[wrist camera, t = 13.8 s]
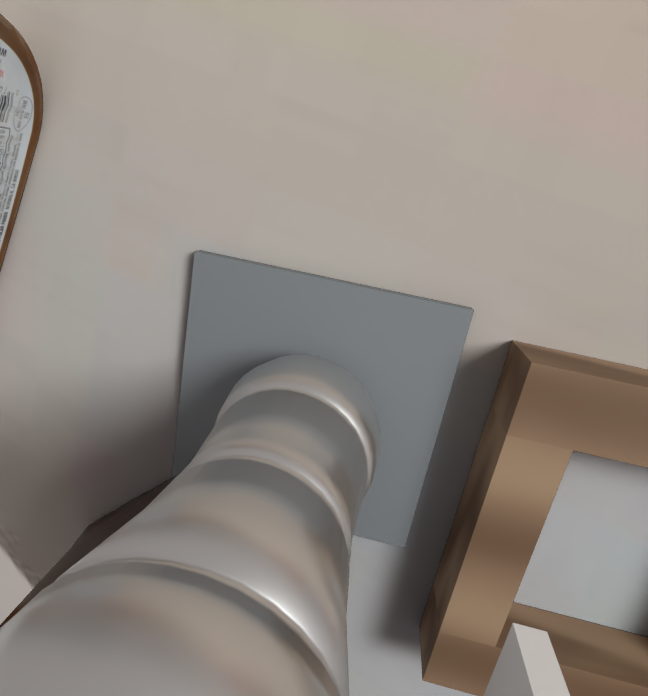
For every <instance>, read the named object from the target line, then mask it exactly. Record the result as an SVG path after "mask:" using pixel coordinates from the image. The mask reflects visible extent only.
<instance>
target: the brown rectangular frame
mask: <svg viewBox="0 0 648 696" xmlns="http://www.w3.org/2000/svg"><path fill="white" fill-rule="evenodd" d="M573 450H574V451H578V452H582V453H587V454H591V455H595V456H600V457H604V458H608V459H612V460H617V461H621V462H625V463H630V464H634V465H638V466H643V467H647V468H648V370H647V369H642V368H638V367H633V366H628V365H624V364H619V363H614V362H610V361H605V360H600V359H596V358H591V357H587V356H582V355H577V354H573V353H568V352H563V351H559V350H554V349H550V348H545V347H540V346H536V345H531V344H526V343H522V342H517V341H512V343H511V346H510V349H509V352H508V355H507V358H506V361H505V364H504V367H503V370H502V374H501V377H500V380H499V383H498V386H497V389H496V392H495V395H494V398H493V401H492V404H491V407H490V410H489V414H488V417H487V420H486V423H485V426H484V429H483V432H482V435H481V438H480V441H479V444H478V447H477V451H476V454H475V457H474V460H473V463H472V466H471V469H470V472H469V475H468V478H467V481H466V484H465V488H464V491H463V494H462V497H461V500H460V503H459V506H458V509H457V512H456V515H455V518H454V521H453V524H452V528H451V531H450V534H449V537H448V540H447V543H446V546H445V549H444V552H443V555H442V558H441V561H440V565H439V568H438V571H437V574H436V577H435V580H434V583H433V586H432V589H431V592H430V595H429V598H428V602H427V605H426V608H425V611H424V614H423V617H422V620H421V623H420V626H419V628H420V645H421V662H422V679H423V681H426V682H430V683H434V684H437V685H441V686H444V687H448V688H452V689H455V690H459V691H462V692H466V693H470V694H473V695H477V696H484V694H485V691H486V689H487V686H488V684H489V681H490V679H491V676H492V674H493V671H494V669H495V666H496V664H497V661H498V659H499V656H500V654H501V651H502V648H503V646H504V643H505V641H506V638H507V636H508V633H509V631H510V628H511V626H512V623H516V624H520V625H524V626H527V627H531V628H535V629H539V630H543V631H546V632H547V633H548V636H549V638H550V641H551V644H552V647H553V649H554V652H555V655H556V658H557V661H558V663H559V666H560V669H561V672H562V674H563V677H564V680H565V683H566V685H567V688H568V691H569V694H570V696H648V637H645V636H641V635H637V634H633V633H629V632H626V631H622V630H618V629H614V628H610V627H606V626H603V625H599V624H595V623H591V622H587V621H583V620H579V619H576V618H572V617H568V616H564V615H560V614H556V613H553V612H549V611H545V610H541V609H537V608H533V607H530V606H526V605H522V604H518V603H514V602H513V601H514V599H515V596H516V593H517V591H518V588H519V586H520V583H521V581H522V578H523V576H524V573H525V571H526V568H527V566H528V563H529V561H530V558H531V556H532V553H533V551H534V548H535V545H536V543H537V540H538V538H539V535H540V533H541V530H542V528H543V525H544V523H545V520H546V518H547V515H548V513H549V510H550V508H551V505H552V502H553V500H554V497H555V495H556V492H557V490H558V487H559V485H560V482H561V480H562V477H563V475H564V472H565V470H566V467H567V465H568V462H569V460H570V457H571V454H572V452H573Z"/></svg>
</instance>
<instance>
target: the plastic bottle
mask: <svg viewBox="0 0 648 696" xmlns="http://www.w3.org/2000/svg"><path fill="white" fill-rule="evenodd" d="M381 450H382V434H381V429H380V425H379V421H378V417H377V414H376V411H375V407H374V405H373V403H372V401H371V398H370V396H369V394H368V393H367V391H366V390H365V389H364V387H363V386H362V384H361V383H360V382H359V381H358V380H357V379H356V378H355V377H354V376H353V375H352V374H351V373H350V372H349V371H347V370H346V369H344V368H342V367H341V366H339V365H338V364H336V363H334V362H332V361H329V360H327V359H324V358H321V357H317V356H312V355H299V354H294V355H288V356H282V357H279V358H276V359H274V360H271V361H269V362H266V363H264V364H262V365H259V366H257V367H255V368H254V369H252V370H251V371H249V372H248V373H246V374H245V375H244V376H243V377H242V378H241V379H240V380H239V381H238V382H237V383H236V384H235V385H234V387H233V389H232V390H231V392H230V394H229V395H228V397H227V399H226V401H225V403H224V404H223V406H222V408H221V410H220V412H219V414H218V417H217V420H216V422H215V426H214V428H213V429H212V431H211V432H210V434H209V435H208V437H207V438H206V440H205V441H204V443H203V445H202V446H201V448H200V449H199V451H198V452H197V454H196V455H195V457H194V458H193V460H192V461H191V463H190V464H189V465H188V466H187V467H186V468H185V469H184V470H183V471H182V472H181V473H180V474H179V475H178V476H177V477H176V478H175V479H174V480H173V481H172V482H171V483H170V484H169V485H168V486H167V487H166V488H165V489H164V490H163V491H162V492H161V493H160V494H159V495H158V496H157V497H156V498H155V499H154V500H153V501H152V502H151V503H150V504H149V505H148V506H147V507H146V508H145V509H144V510H143V511H141V512H140V513H139V514H137V515H136V516H135V517H134V518H132V519H131V520H130V521H129V522H127V523H126V524H125V525H124V526H122V527H121V528H120V529H119V530H117V531H116V532H115V533H114V534H112V535H111V536H110V537H108V538H107V539H106V540H105V541H103V542H102V543H101V544H100V545H98V546H97V547H96V548H95V549H93V550H92V551H91V552H90V553H88V554H87V555H86V556H85V557H83V558H82V559H81V560H80V561H78V562H77V563H76V564H74V565H73V566H72V567H71V568H69V569H68V570H67V571H66V572H64V573H63V574H62V575H61V576H59V577H58V578H57V579H56V580H55V582H54V583H52V584H50V585H49V586H47V587H45V588H44V589H42V590H41V591H40V592H39V593H38V594H37V595H36V596H35V597H34V598H33V599H32V600H31V601H30V602H29V603H28V604H26V605H25V606H24V607H23V608H22V609H21V610H20V611H19V612H18V613H17V614H16V615H14V616H13V617H12V618H11V619H10V620H9V621H8V622H7V623H5V624H4V625H3V626H2V627H1V628H0V696H349V679H348V652H347V625H346V612H347V598H348V585H349V571H350V570H349V562H350V556H351V542H352V537H353V533H354V530H355V526H356V523H357V519H358V515H359V512H360V508H361V505H362V501H363V499H364V497H365V495H366V494H367V492H368V490H369V487H370V485H371V483H372V481H373V478H374V476H375V473H376V470H377V467H378V464H379V461H380V455H381Z"/></svg>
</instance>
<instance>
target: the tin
mask: <svg viewBox="0 0 648 696" xmlns="http://www.w3.org/2000/svg"><path fill="white" fill-rule="evenodd" d="M42 115H43V92H42V83H41V78H40V74H39V71H38V67H37V64H36V62H35V59H34V57H33V54H32V52H31V50H30V49H29V47H28V45H27V43H26V42H25V40H24V38H23V37H22V36H21V34H20V33H19V32H18V31H17V29H16V28H15V27H14V26H13V25H12V24H11V23H10V22H9V21H8V20H6V19H5V18H4V17H3V16H2V15H1V14H0V270H1V267H2V264H3V260H4V257H5V253H6V250H7V247H8V243H9V239H10V236H11V232H12V229H13V226H14V223H15V219H16V216H17V212H18V209H19V205H20V202H21V198H22V195H23V191H24V188H25V184H26V181H27V177H28V174H29V170H30V167H31V163H32V160H33V156H34V153H35V149H36V146H37V142H38V139H39V134H40V129H41V124H42Z"/></svg>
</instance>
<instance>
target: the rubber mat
mask: <svg viewBox="0 0 648 696" xmlns="http://www.w3.org/2000/svg"><path fill="white" fill-rule="evenodd" d="M473 312H474V310H473V309H472V308H470V307H466V306H461V305H456V304H451V303H447V302H442V301H437V300H433V299H428V298H423V297H418V296H414V295H409V294H404V293H400V292H395V291H390V290H385V289H381V288H376V287H371V286H366V285H362V284H357V283H352V282H348V281H343V280H338V279H333V278H329V277H324V276H319V275H315V274H310V273H305V272H300V271H296V270H291V269H286V268H281V267H277V266H272V265H267V264H263V263H258V262H253V261H248V260H244V259H239V258H234V257H230V256H225V255H220V254H215V253H211V252H206V251H201V250H199V251H195V252H194V262H193V272H192V282H191V291H190V301H189V311H188V321H187V331H186V341H185V350H184V360H183V370H182V380H181V390H180V399H179V409H178V419H177V429H176V439H175V448H174V458H173V468H172V478H173V477H175V476H176V475H178V474H180V473H181V472H182V471H183V470H184V469H185V468H186V467H187V466H188V465H189V464H190V463H191V461H192V460H193V458H194V457H195V455H196V454H197V452H198V451H199V449H200V448H201V446H202V445H203V443H204V441H205V440H206V438H207V437H208V435H209V434H210V432H211V431H212V429H213V428H214V426H215V422H216V420H217V417H218V414H219V412H220V410H221V408H222V406H223V404H224V403H225V401H226V399H227V397H228V395H229V394H230V392H231V390H232V389H233V387H234V385H235V384H236V383H237V382H238V381H239V380H240V379H241V378H242V377H243V376H244V375H245V374H246V373H248V372H249V371H251V370H252V369H254V368H255V367H257V366H259V365H262V364H264V363H266V362H269V361H271V360H274V359H276V358H279V357H282V356H288V355H294V354H299V355H312V356H317V357H321V358H324V359H327V360H329V361H332V362H334V363H336V364H338V365H339V366H341V367H342V368H344V369H346V370H347V371H349V372H350V373H351V374H352V375H353V376H354V377H355V378H356V379H357V380H358V381H359V382H360V383H361V384H362V386H363V387H364V389H365V390H366V391H367V393H368V394H369V396H370V398H371V401H372V403H373V405H374V407H375V411H376V414H377V417H378V421H379V425H380V429H381V434H382V450H381V455H380V461H379V464H378V467H377V470H376V473H375V476H374V478H373V481H372V483H371V485H370V487H369V490H368V492H367V494H366V495H365V497H364V499H363V501H362V505H361V508H360V512H359V515H358V519H357V523H356V526H355V530H354V533H353V535H356V536H360V537H364V538H368V539H372V540H376V541H380V542H384V543H387V544H391V545H395V546H399V547H403V548H405V545H406V541H407V538H408V534H409V531H410V528H411V524H412V521H413V517H414V514H415V510H416V507H417V504H418V500H419V497H420V493H421V490H422V487H423V483H424V480H425V476H426V473H427V469H428V466H429V463H430V459H431V456H432V452H433V449H434V446H435V442H436V439H437V435H438V432H439V428H440V425H441V422H442V418H443V415H444V411H445V408H446V405H447V401H448V398H449V394H450V391H451V387H452V384H453V381H454V377H455V374H456V370H457V367H458V363H459V360H460V357H461V353H462V350H463V346H464V343H465V340H466V336H467V333H468V329H469V326H470V322H471V319H472V316H473Z"/></svg>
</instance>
